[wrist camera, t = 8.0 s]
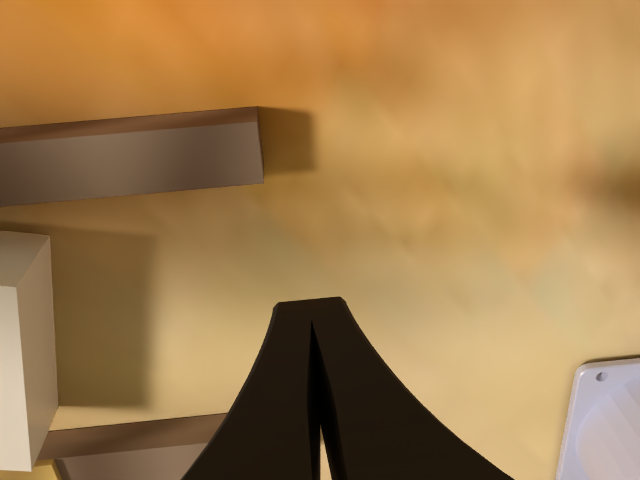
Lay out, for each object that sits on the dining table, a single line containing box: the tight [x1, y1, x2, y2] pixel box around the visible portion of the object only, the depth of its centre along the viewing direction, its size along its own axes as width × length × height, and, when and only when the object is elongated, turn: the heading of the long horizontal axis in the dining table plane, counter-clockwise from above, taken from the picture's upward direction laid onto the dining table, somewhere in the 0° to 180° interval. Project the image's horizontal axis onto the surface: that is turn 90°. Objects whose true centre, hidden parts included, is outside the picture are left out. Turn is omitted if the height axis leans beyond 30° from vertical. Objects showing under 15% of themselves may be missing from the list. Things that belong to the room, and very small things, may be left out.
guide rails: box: [0, 107, 264, 480], centre depth 22 cm, size 15×15×2 cm
